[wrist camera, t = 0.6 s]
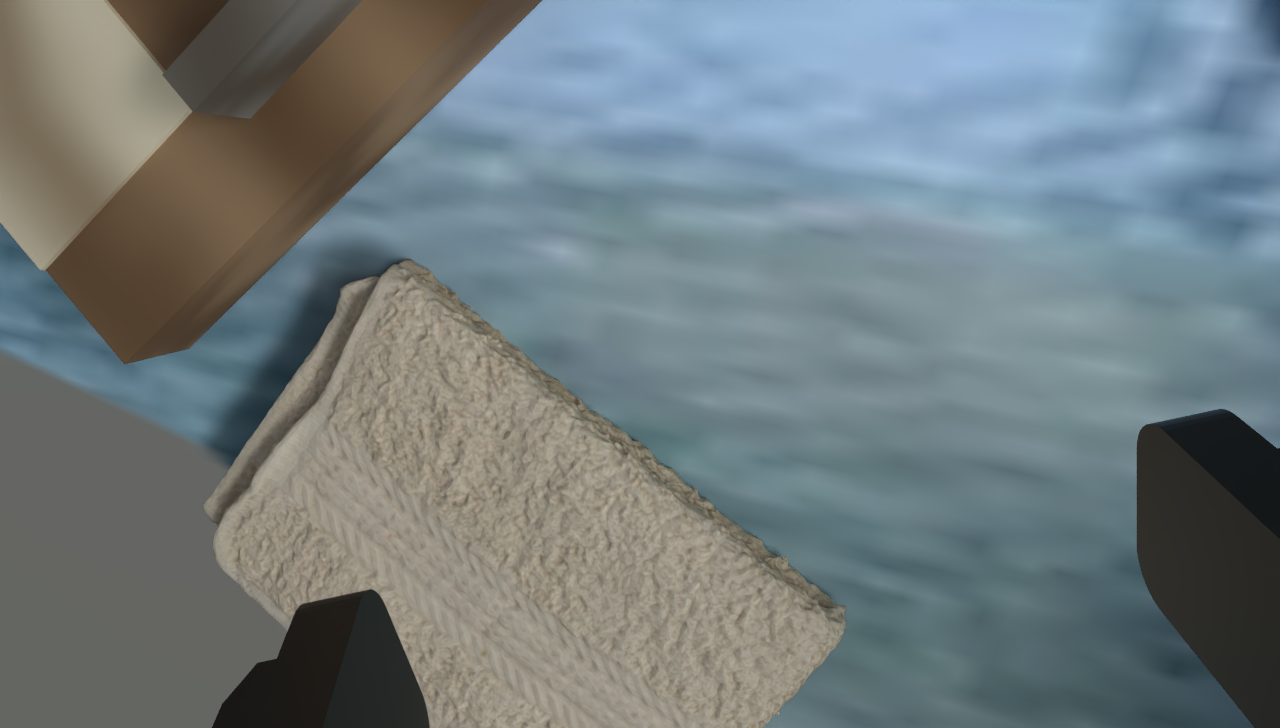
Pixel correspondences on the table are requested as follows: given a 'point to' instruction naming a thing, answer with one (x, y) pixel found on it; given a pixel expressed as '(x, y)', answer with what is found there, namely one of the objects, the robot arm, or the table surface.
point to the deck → (206, 137)
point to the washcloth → (507, 533)
